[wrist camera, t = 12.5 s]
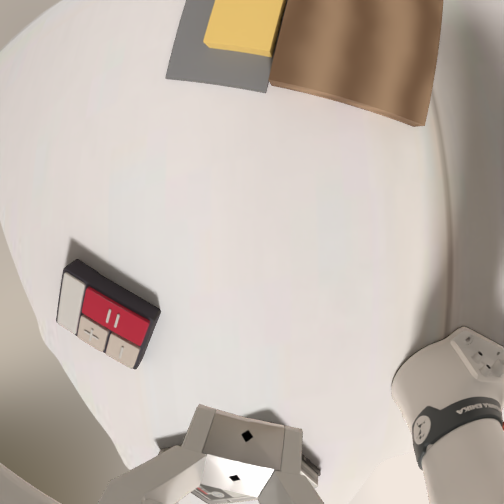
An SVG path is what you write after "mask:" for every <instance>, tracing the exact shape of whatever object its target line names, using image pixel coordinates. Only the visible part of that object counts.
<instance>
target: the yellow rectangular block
mask: <svg viewBox="0 0 504 504" xmlns="http://www.w3.org/2000/svg"><path fill="white" fill-rule="evenodd" d="M286 2H287V0H215V3H214V6H213V9H212V12H211V16H210V19H209V22H208V26H207V29H206V33H205V36H204V40H203V42H204V43H205V44H206V45H207V46H208V47H209V48H215V49H223V50H230V51H237V52H244V53H250V54H256V55H261V56H267V57H272V55H273V51H274V47H275V43H276V40H277V36H278V32H279V28H280V24H281V20H282V17H283V13H284V9H285V5H286Z"/></svg>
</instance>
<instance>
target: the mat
mask: <svg viewBox="0 0 504 504" xmlns="http://www.w3.org/2000/svg"><path fill="white" fill-rule="evenodd" d="M287 1H288V0H287ZM214 3H215V0H186V3H185V6H184V10H183V13H182V16H181V20H180V23H179V27H178V30H177V34H176V38H175V41H174V45H173V49H172V53H171V57H170V61H169V65H168V69H167V73H166V78H165V79H172V80H182V81H191V82H199V83H207V84H214V85H221V86H228V87H234V88H240V89H246V90H251V91H257V92H262V93H266V91H267V87H268V82H269V80H268V79H269V75H270V70H271V66H272V62H273V58H274V54H275V50H276V45H277V41H278V37H279V33H280V29H281V25H282V21H283V17H284V13H285V9H286V5H287V2H286V5H285V9H284V13H283V17H282V20H281V24H280V28H279V32H278V36H277V40H276V43H275V47H274V51H273V55H272V57H267V56H261V55H256V54H250V53H244V52H237V51H230V50H223V49H215V48H209V47H208V46H207V45H206V44H205V43H204V42H203V40H204V36H205V33H206V29H207V26H208V22H209V19H210V16H211V12H212V9H213V6H214Z"/></svg>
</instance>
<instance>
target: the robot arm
mask: <svg viewBox="0 0 504 504" xmlns="http://www.w3.org/2000/svg"><path fill="white" fill-rule="evenodd" d="M466 338H467V339H466ZM391 393H392V397H393V400H394V401H395V403H396V404H397V406H398V407H399V409H400V411H401V412H402V417H403V419H404V421H405V422H406V423H407V425H408V427H409V429H410V432H411V434H412V437H413V447H414V451H415V455H416V459H417V462H418V466H419V467H420V469H421V470H423V473H424V478H425V483H426V487H427V492H428V497H429V502H430V504H504V422H503V420H502V412H501V411H502V410H503V408H504V347H503V346H501V345H499V344H497V343H495V342H493V341H492V340H490V339H488V338H486V337H484V336H482V335H480V334H478V333H477V332H475V331H473V330H471V329H469V328H467V327H461V328H459V329H457V330H456V331H454V332H453V333H452V334H451V335H449V336H448V337H447V338H445V339H444V340H441V341H439V342H436V343H433V344H431V345H429V346H427V347H425V348H423V349H421V350H420V351H418V352H417V353H415V354H414V355H413V356H411V357H410V358H409V359H408V360H407V361H406V362H405V363H404V364H403V365H402V366H401V368H400V369H399V370H398V372H397V374H396V375H395V377H394V380H393V383H392V388H391ZM302 438H303V431H302V429H299V428H294V427H289V426H284V425H280V424H275V423H270V422H266V421H261V420H256V419H252V418H250V419H249V418H246V417H242V416H238V415H235V414H231V413H228V412H225V411H221V410H218V409H217V410H216V409H214V408H211V407H208V406H204V405H201V404H199V405H198V407H197V408H196V411H195V413H194V416H193V418H192V421H191V423H190V426H189V428H188V431H187V433H186V436H185V438H184V441H183V443H182V446H181V447H180V446H177V445H176V446H174V447H172V448H170V449H169V450H167V451H165V452H163V453H161V454H160V455H158V456H156V457H154V458H152V459H151V460H149V461H147V462H145V463H143V464H141V465H139V466H138V467H136V468H134V469H132V470H130V471H128V472H126V473H124V474H122V475H120V476H118V477H116V478H114V479H112V480H110V481H109V483H108V485H107V487H106V488H105V490H104V492H103V494H102V496H101V498H100V500H99V501H98V503H97V504H176V503H177V502H178V501H180V500H181V499H182V498H184V497H185V496H187V495H188V494H189V493H191V492H192V491H193V490H195V489H196V488H197V487H199V486H200V484H203V485H207V486H211V487H215V488H219V489H224V490H228V491H232V492H236V493H240V494H244V495H249V496H253V497H258V498H257V499H258V501H259V503H260V504H324V502H323V501H322V500H321V498H320V497H319V495H318V494H317V492H316V491H315V489H314V488H313V486H312V485H311V483H310V482H309V480H308V479H307V477H306V476H305V475H300V473H301V457H302ZM0 504H61V503H59V502H57V501H56V500H54V499H52V498H51V497H49V496H47V495H46V494H44V493H42V492H41V491H40V490H38V489H36V488H35V487H33V486H32V485H30V484H29V483H27V482H26V481H24V480H23V479H22V478H20V477H19V476H17V475H16V474H14V473H13V472H12V471H10V470H9V469H8V468H6V467H5V466H4V465H2V464H1V463H0Z"/></svg>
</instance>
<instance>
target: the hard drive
mask: <svg viewBox="0 0 504 504" xmlns="http://www.w3.org/2000/svg"><path fill="white" fill-rule="evenodd" d="M270 423H272V422H270ZM179 446H180V447H181V446H182V445H179ZM170 448H172V447H169V448H164V449H161V450H160V452H159V454H158V455H160V454H161V453H163V452H165V451H167V450H169V449H170ZM300 475H305V476H306V477H307V479H308V480H309V482H310V483H311V485H312V486H313V488H317V487H318V476H320V470H319V469H318V468H317V467H316V466H315V465H314V464H313V463H312V462H311V461H310V460H309V459H307V458H306V457H305V456H304V455H303V454H302V457H301V473H300ZM191 493H192V494H194V495H195V496H197V497H198V498H200V499H201V500H203V501H204V502H206V503H208V504H225V503H235V502H243V501H251V500H258V499H257V498H258V497H253V496H249V495H244V494H240V493H236V492H232V491H228V490H224V489H219V488H215V487H211V486H207V485H203V484H200V486H199V487H197V488H196V489H195V490H193V491H192V492H191Z"/></svg>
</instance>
